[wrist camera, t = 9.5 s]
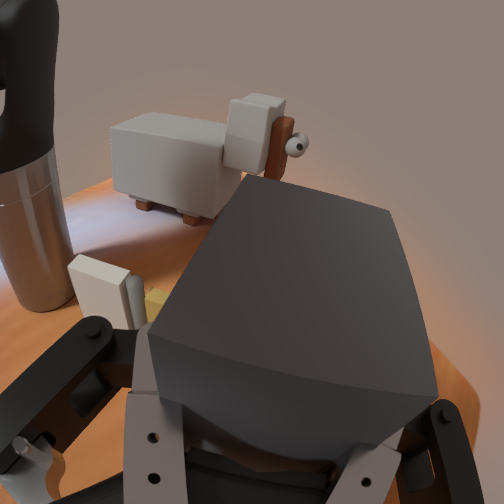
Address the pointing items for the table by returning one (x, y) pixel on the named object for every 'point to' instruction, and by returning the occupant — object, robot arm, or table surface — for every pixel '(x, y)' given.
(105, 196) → the table surface
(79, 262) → the wall frame
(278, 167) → the toy
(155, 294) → the door
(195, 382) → the rubber block
